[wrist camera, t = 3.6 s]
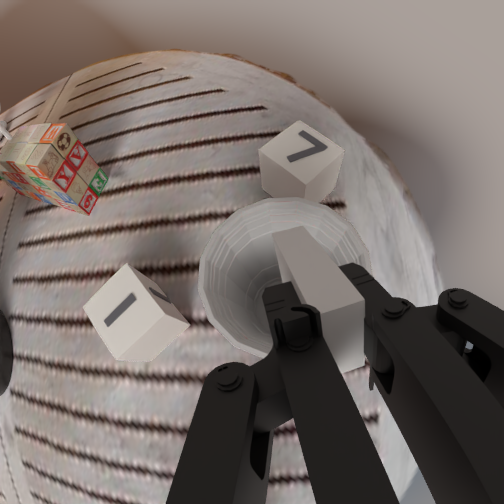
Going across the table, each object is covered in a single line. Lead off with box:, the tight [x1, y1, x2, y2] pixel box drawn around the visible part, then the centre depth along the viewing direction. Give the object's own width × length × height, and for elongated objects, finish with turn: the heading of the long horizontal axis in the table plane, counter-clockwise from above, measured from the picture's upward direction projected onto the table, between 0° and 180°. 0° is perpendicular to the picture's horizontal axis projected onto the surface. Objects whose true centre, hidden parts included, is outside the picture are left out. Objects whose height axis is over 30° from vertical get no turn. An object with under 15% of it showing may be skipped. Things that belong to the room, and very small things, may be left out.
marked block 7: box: [258, 120, 345, 203], centre depth 29 cm, size 6×6×7 cm
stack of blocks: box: [0, 123, 108, 216], centre depth 31 cm, size 21×6×12 cm, turn 72°
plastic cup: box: [198, 197, 373, 359], centre depth 22 cm, size 11×11×12 cm
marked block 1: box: [83, 263, 190, 362], centre depth 25 cm, size 6×6×7 cm
